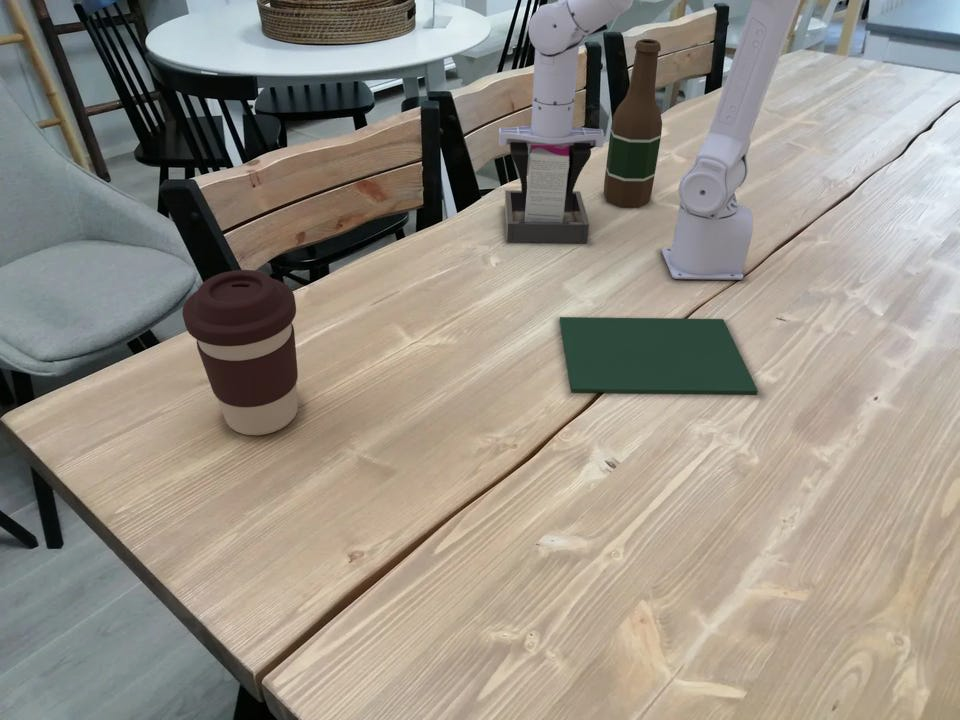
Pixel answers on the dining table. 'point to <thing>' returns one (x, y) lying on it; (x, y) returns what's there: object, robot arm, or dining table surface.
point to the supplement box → (547, 183)
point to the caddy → (546, 230)
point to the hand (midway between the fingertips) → (546, 193)
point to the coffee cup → (247, 348)
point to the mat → (653, 356)
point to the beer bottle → (635, 134)
